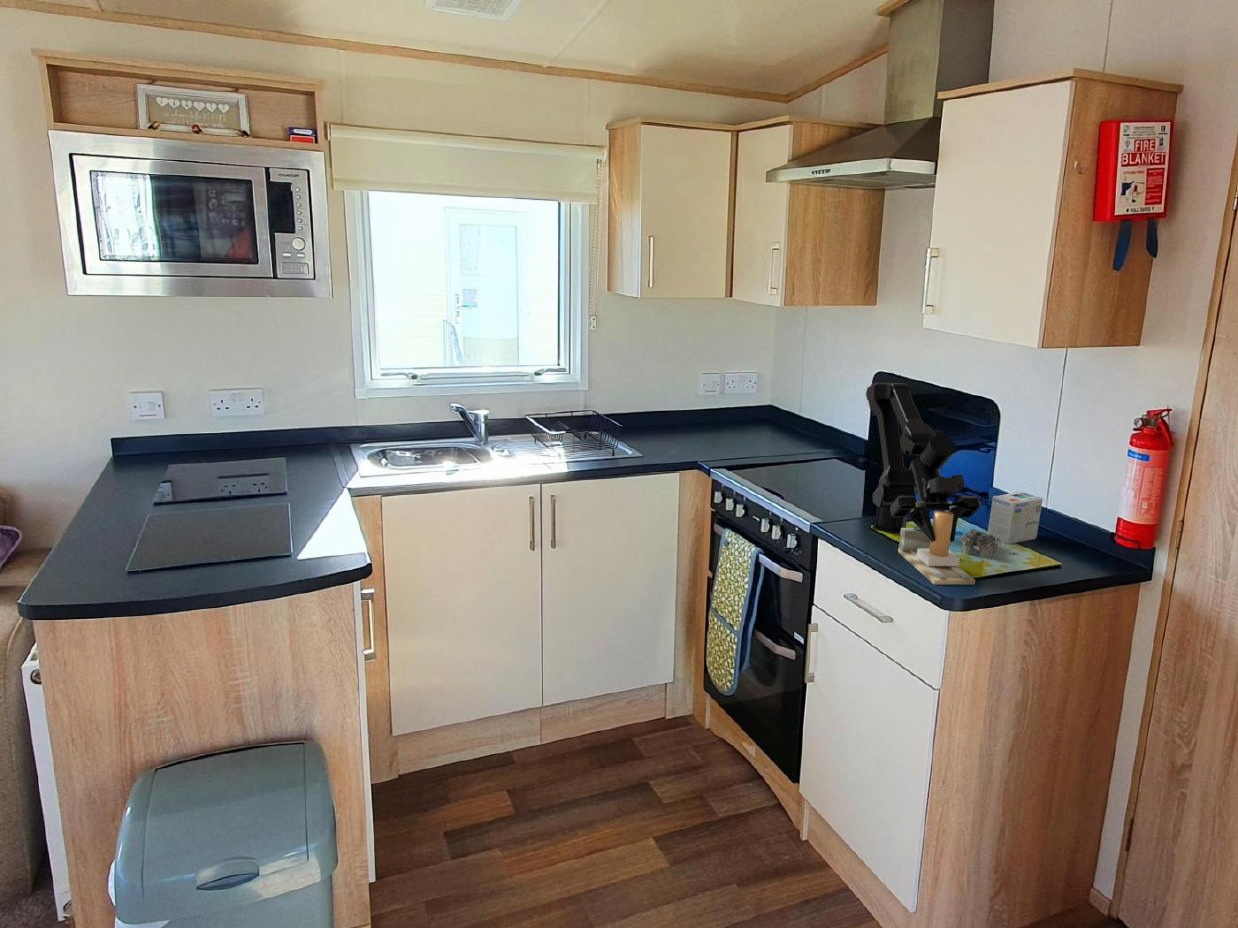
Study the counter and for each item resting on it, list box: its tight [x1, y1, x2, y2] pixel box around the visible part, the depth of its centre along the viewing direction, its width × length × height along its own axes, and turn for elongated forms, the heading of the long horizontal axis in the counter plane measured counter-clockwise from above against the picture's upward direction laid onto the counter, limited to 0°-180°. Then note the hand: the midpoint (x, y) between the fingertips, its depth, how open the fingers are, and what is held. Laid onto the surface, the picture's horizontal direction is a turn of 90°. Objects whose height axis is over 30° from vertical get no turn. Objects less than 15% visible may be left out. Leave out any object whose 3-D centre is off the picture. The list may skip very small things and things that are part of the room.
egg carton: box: [960, 528, 1001, 559], centre depth 204 cm, size 11×8×4 cm
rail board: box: [897, 525, 976, 585], centre depth 192 cm, size 20×9×6 cm, turn 4°
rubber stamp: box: [917, 510, 961, 567], centre depth 189 cm, size 6×7×11 cm
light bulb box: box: [987, 491, 1043, 545], centre depth 213 cm, size 11×7×11 cm, turn 118°
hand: (943, 541), depth 188 cm, fingers closed on rubber stamp, 4 cm apart
